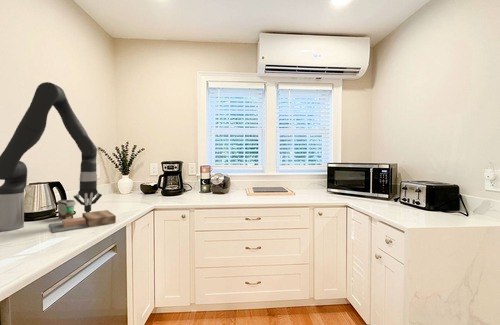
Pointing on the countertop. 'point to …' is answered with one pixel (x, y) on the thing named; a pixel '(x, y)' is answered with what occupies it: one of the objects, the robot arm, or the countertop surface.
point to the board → (99, 218)
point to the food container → (66, 209)
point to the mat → (59, 227)
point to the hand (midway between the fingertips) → (87, 212)
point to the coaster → (73, 222)
